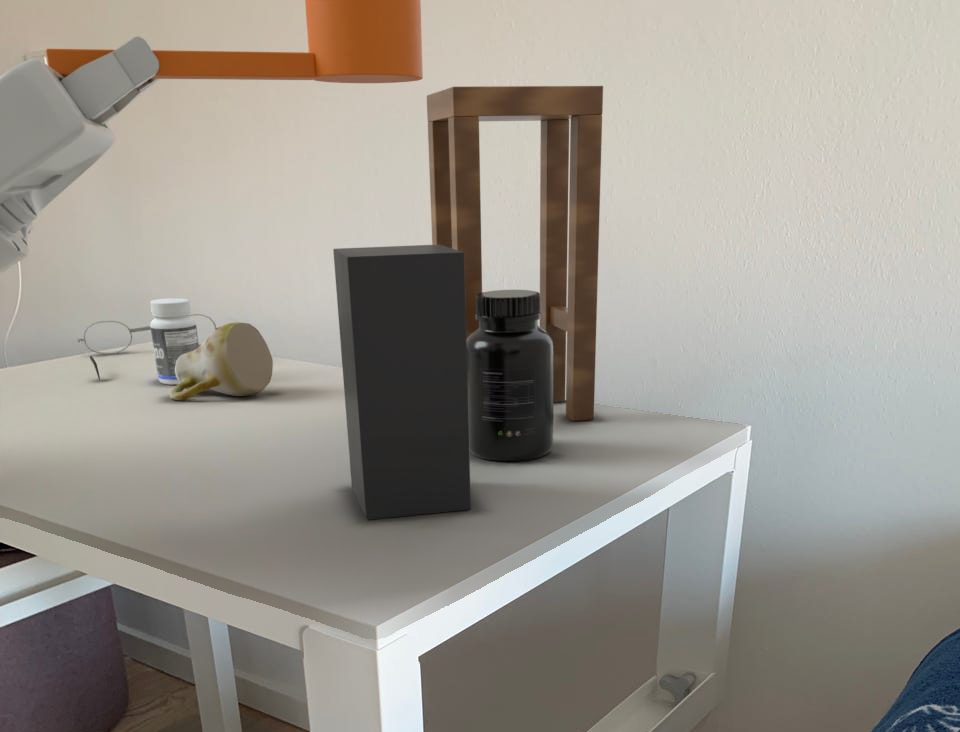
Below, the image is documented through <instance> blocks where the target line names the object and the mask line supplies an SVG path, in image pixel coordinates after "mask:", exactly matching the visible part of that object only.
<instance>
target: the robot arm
mask: <svg viewBox="0 0 960 732" xmlns="http://www.w3.org/2000/svg"><path fill="white" fill-rule="evenodd" d="M114 50H115V51H113V52H111V53H109V54H107V55H105V56H102V57H100V58H98V59H96V60H94V61H92V62H89V63H87V64H85V65H83V66H81V67H79V68H78V69H77V70H75V71H74V72H72V73H71V74H69V75H68V76H67V77H64V76H62V75H61V74H60V73H58V72H57V71H55V70H54V69H52V68H51V67H49V65H48V64H47V63H45V62H44V61H42V60H41V59H39V58H35V57H34V58H30V59H27V60H25V61H22V62H20V63H19V64H16V65H15V66H13V67H12V68H9V69H8V70H6V71H5V72H4V73H2V74H1V75H0V275H2V274H3V273H5V272H6V271H7V270H9V269H11V268H12V267H13V266H15V265H16V264H18V263H19V262H20V261H22V260H23V259H24V258H26V257H27V256H28V255H29V253H30V249H29V246H28V238H29V234H30V233H31V231H32V230H33V229H34V223H33V221H35V220H36V219H37V218H38V214H39V213H40V212H41V211H43V210H44V208H46V207H47V206H48V205H49V204H50V203H51V202H52V201H53V200H54V199H56V198H57V197H59V195H60V194H62V192H64V191H65V190H67V188H68V187H69V186H70V185H72V184H73V183H74V182H75V181H76V180H77V179H79V178H80V177H81V176H82V175H83V174H85V172H87V170H89V168H91V167H92V166H93V165H94V164H95V163H96V162H97V161H99V160H100V159H101V157H103V155H104V154H105V153H107V152H108V150H109V149H110V148H111V147H112V146H113V144H114V143H115V142H116V135H115V133H114V131H113V130H112V128H111V126H110V125H109V124H108V122H109V121H111V120H113V118H115V117H116V116H118V115H120V114H121V113H122V112H123V111H124V110H125V109H126V108H127V107H128V106H129V105H130V104H131V103H132V102H133V101H134V100H136V99H137V98H138V97H139V96H140V95H141V94H143V92H145V91H146V90H147V89H149V88H150V87H152V86H153V85H154V84H156V83H157V82H159V81H160V80H161V79H150V78H152V77H153V76H155V75H156V74H157V73H158V72H159V70H160V64H159V61H158V59H157V58H156V56H155V54H154V53H153V51H152V50H153V49H152V48H151V47H150V45H149V43H148V42H147V41H146V40H145V39H144V38H143V37H141V36H133V37H132V38H131V39H129V40H127V42H125V43H124V44H122V45H121V46H119V47H117V48H116V49H114Z"/></svg>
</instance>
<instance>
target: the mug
mask: <svg viewBox="0 0 960 732" xmlns="http://www.w3.org/2000/svg"><path fill="white" fill-rule="evenodd" d="M218 327H219V328H218ZM218 327H217V328H218V329H216V330H215V329H214V330H213V331H212V332H211V333H210V334H209V335H208V336H207V337H205V339H204V340H203V341H202V343H200V344H201V345H200V344H199V345H200V346H199V347H198V348H197V349H196V350H194V351H191V352H188V353H185V354H183V355H181V356H180V357H179V358H178V359H177V361H176V365H175V374H176V377H177V379H178V381H179V382H180V384H176V385H175V387H173V388H172V389H171V390H170V393H169V398H170V399H171V400H175V401H186V400H188V399H191V398H193V397H194V396H197V395H199V394H201V393H203V392H206V391H214V392H217V393H220V394H224V395H228V396H233V397H247V396H252V395H254V394H257V393H260V392H262V391H264V390H265V389H266V387H267V386H268V385H269V384H270V383H271V380H272V376H273V367H274V365H273V363H274V362H273V357H272V354H271V351H270V349H269V346H268V343H267V342H266V340H265V339H264V337H263V335H262V333H261V332H260V331H259V330H258V329H257V328H256V327H255V326H254V325H252V324H250V323H248V322H241V321H239V322H237V321H236V322H229V323H226V324H223V325H221V326H218Z"/></svg>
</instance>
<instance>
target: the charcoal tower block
mask: <svg viewBox="0 0 960 732" xmlns="http://www.w3.org/2000/svg"><path fill="white" fill-rule="evenodd" d="M333 262H334V278H335V288H336V289H335V290H336V303H337V314H338V316H337V317H338V328H339V338H340V339H339V341H340V354H341V366H342V379H343V389H344V390H343V391H344V405H345V417H346V429H347V443H348V457H349V468H350V480H351V481H350V482H351V491H352V493H353V495H354V496H355V499H356V501H357V503H358V505H359V507H360V509H361V511H362V514H363V516H364V517H365V520H367V521H369V520H379V519H387V518H399V517H408V516H418V515H420V516H421V515H429V514H430V515H431V514H439V513H440V514H441V513H449V512H450V513H451V512H459V511H469V510H471V508H472V507H471V506H472V502H471V500H472V499H471V465H470V464H471V461H470V458H471V457H470V449H469V419H468V380H467V342H466V303H465V264H464V252H461V251H458V250H455V249H452V248H449V247H445V246H442V245H432V244H419V245H417V244H416V245H415V244H414V245H393V246H392V245H391V246H368V247H366V246H365V247H344V248H333Z"/></svg>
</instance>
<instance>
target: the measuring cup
mask: <svg viewBox="0 0 960 732" xmlns="http://www.w3.org/2000/svg"><path fill="white" fill-rule="evenodd" d="M304 3H305V4H304V5H305V19H306V32H307V44H308V52H302V51H301V52H300V51H299V52H298V51H297V52H294V51H288V52H287V51H237V50H236V51H233V50H230V51H228V50H227V51H225V50H169V49H168V50H167V49H166V50H163V49H162V50H161V49H158V50H157V49H151V50H152V51H153V53H154V54H155V56H156V58H157V59H158V61H159V64H160V70H159V72H158V73H157V74H156V75H155V76H153V77H152V78H150V79H160V80H241V81H242V80H243V81H245V80H247V81H248V80H250V81H251V80H253V81H255V80H256V81H257V80H259V81H261V80H262V81H267V80H268V81H312V80H313V81H316V82H324V83H333V84H334V83H337V84H393V83H409V82H416V81H421V80H422V79H423V78H424V77H423V75H424V74H423V44H422V43H423V41H422V9H421V7H422V6H421V0H304ZM115 50H116V49H102V48H101V49H99V48H97V49H94V48H93V49H92V48H91V49H90V48H46V50H45V53H46V58H47V65H48V66H49V67H51V68H52V69H54V70H55V71H57V72H58V73H60V74H61V75H62V76H64V77H67V76H68V75H69V74H71V73H72V72H74V71H75V70H77V69H78V68H79V67H81V66H83V65H85V64H87V63H89V62H92V61H94V60H96V59H98V58H100V57H102V56H105V55H107V54H109V53H111V52H113V51H115Z"/></svg>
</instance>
